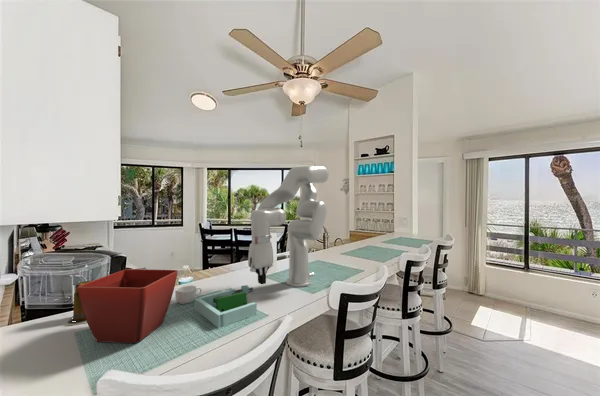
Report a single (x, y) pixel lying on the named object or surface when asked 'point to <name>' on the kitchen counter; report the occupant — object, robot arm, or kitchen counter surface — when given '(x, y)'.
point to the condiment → (77, 308)
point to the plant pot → (127, 303)
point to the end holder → (226, 317)
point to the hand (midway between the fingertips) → (262, 283)
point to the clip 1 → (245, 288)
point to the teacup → (186, 294)
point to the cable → (241, 290)
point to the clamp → (230, 301)
